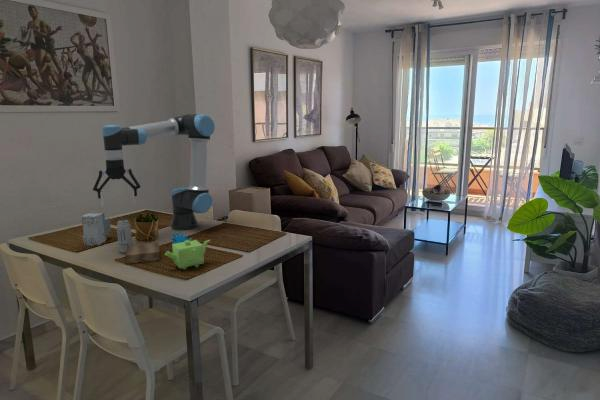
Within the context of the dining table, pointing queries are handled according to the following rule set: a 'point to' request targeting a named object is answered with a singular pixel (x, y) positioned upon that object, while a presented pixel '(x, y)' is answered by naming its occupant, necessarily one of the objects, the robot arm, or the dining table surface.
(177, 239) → the gear
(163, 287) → the dining table surface
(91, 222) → the circuit breaker
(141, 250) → the stand
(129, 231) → the energy drink can
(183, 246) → the kettle
